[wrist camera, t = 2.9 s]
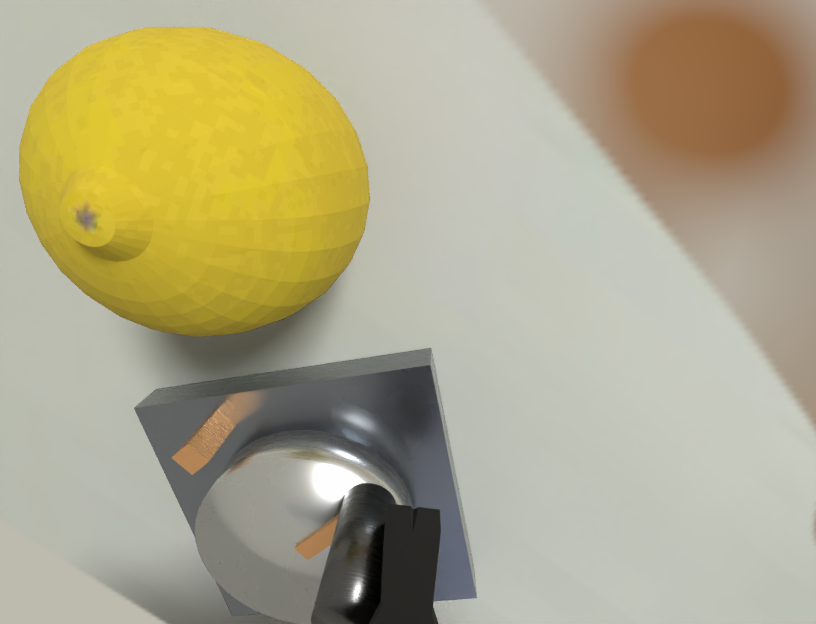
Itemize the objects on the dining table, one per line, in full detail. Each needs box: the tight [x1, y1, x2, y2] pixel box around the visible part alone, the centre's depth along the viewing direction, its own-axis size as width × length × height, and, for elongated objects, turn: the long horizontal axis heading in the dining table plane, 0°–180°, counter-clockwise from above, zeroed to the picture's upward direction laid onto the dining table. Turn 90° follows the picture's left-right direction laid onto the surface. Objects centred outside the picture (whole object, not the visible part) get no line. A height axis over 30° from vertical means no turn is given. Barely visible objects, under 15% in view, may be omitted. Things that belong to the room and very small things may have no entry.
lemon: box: [19, 27, 370, 336], centre depth 9 cm, size 6×6×8 cm
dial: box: [195, 430, 414, 624], centre depth 13 cm, size 7×7×5 cm
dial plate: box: [134, 348, 477, 616], centre depth 15 cm, size 10×10×3 cm
